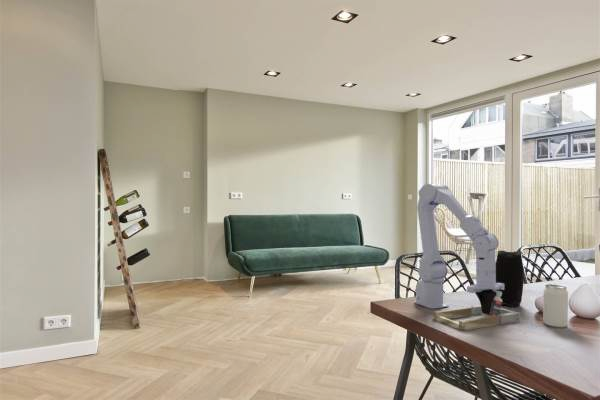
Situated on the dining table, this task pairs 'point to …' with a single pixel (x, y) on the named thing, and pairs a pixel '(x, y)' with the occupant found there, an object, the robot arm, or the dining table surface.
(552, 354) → the dining table surface
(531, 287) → the dining table surface
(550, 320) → the can
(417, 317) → the dining table surface
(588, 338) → the dining table surface
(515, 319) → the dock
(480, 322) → the beige flat u-shaped piece
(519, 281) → the portable speaker
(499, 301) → the pill bottle
